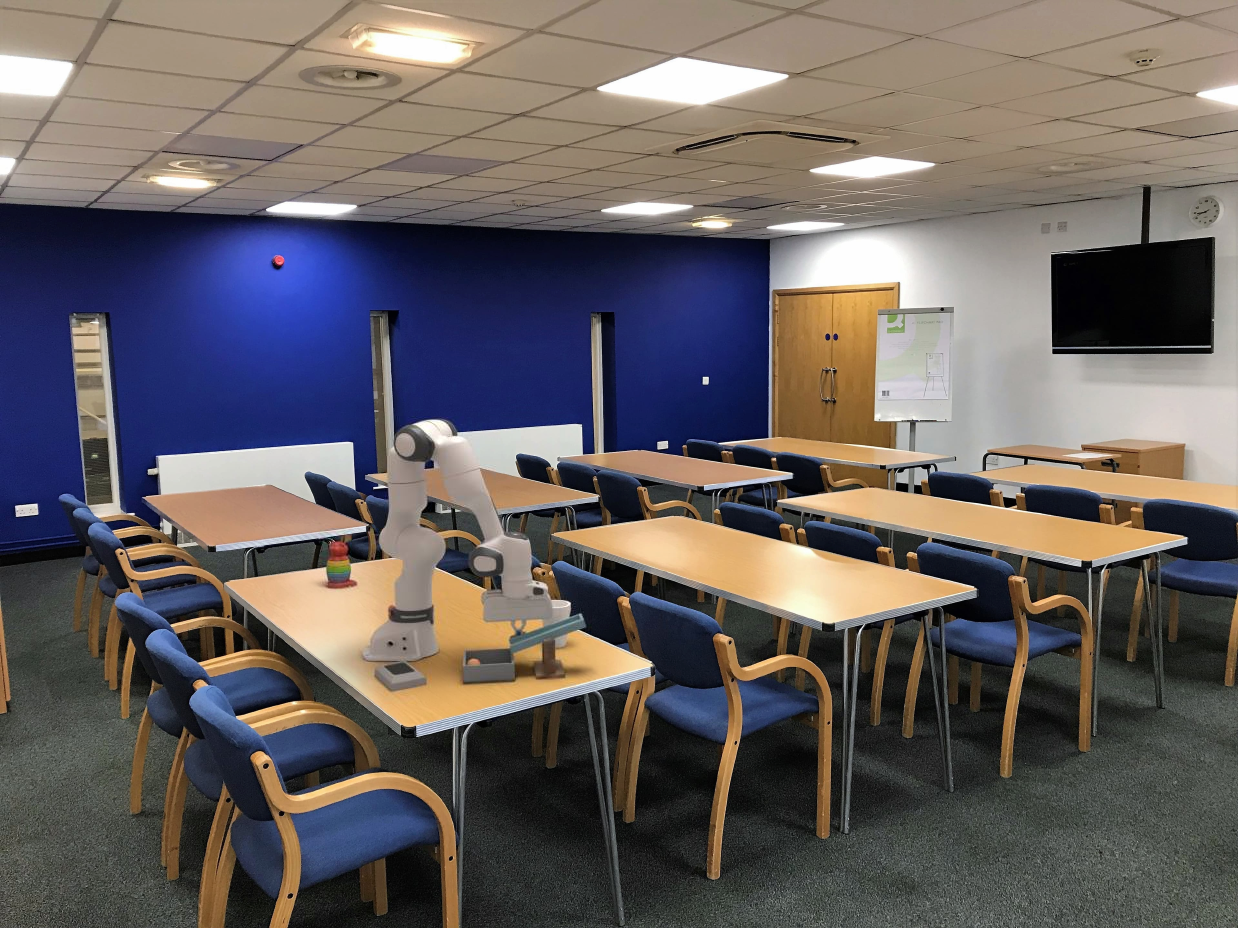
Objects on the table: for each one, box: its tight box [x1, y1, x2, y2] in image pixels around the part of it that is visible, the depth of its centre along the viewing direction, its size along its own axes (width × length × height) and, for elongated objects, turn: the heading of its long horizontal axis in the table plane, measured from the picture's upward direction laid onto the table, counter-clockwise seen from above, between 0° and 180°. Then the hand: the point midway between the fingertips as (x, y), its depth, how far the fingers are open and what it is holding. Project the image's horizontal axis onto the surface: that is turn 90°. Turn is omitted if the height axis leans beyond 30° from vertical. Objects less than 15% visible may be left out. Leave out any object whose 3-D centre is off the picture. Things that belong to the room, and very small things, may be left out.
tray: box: [462, 647, 516, 685], centre depth 263 cm, size 14×14×5 cm
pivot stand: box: [533, 638, 566, 680], centre depth 265 cm, size 8×13×11 cm, turn 9°
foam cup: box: [541, 599, 572, 649], centre depth 289 cm, size 10×9×13 cm
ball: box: [467, 659, 481, 665], centre depth 262 cm, size 4×4×4 cm
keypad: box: [374, 661, 427, 692], centre depth 258 cm, size 10×4×15 cm
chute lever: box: [508, 613, 587, 655], centre depth 267 cm, size 22×13×2 cm, turn 98°
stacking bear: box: [325, 541, 358, 589], centre depth 366 cm, size 11×10×18 cm
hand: (518, 634), depth 269 cm, fingers closed
